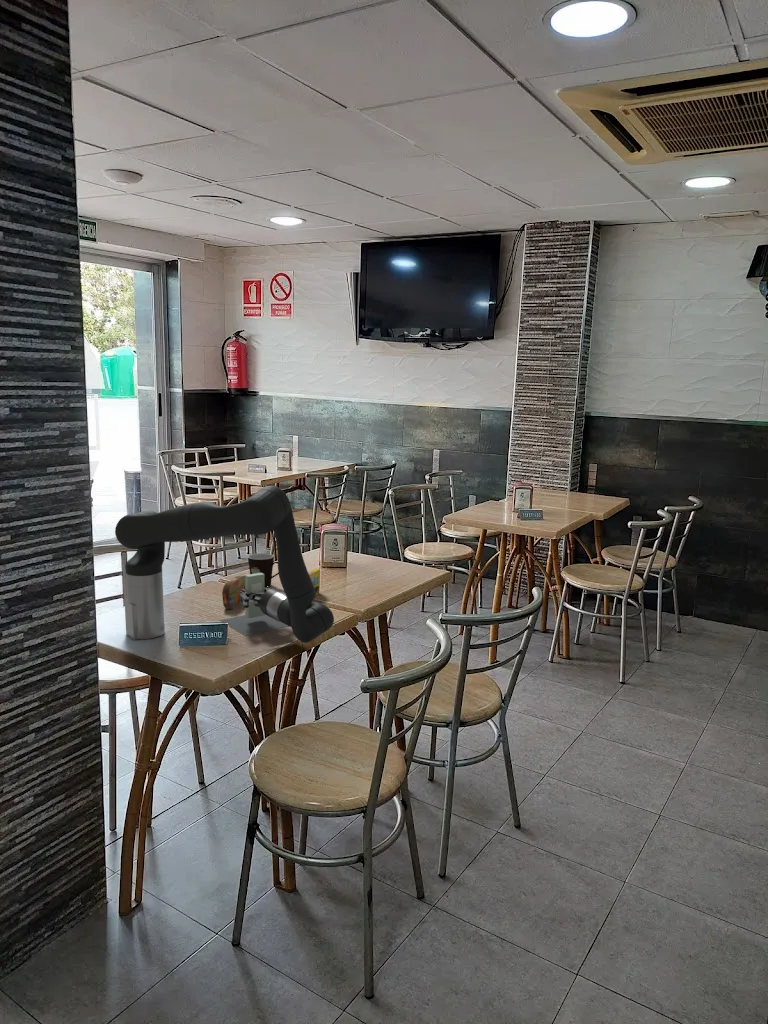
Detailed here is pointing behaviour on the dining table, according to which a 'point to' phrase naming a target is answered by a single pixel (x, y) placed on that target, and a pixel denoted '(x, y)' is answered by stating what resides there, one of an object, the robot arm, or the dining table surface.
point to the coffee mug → (262, 566)
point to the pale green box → (253, 584)
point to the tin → (233, 592)
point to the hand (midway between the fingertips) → (250, 591)
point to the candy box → (315, 579)
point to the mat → (253, 624)
